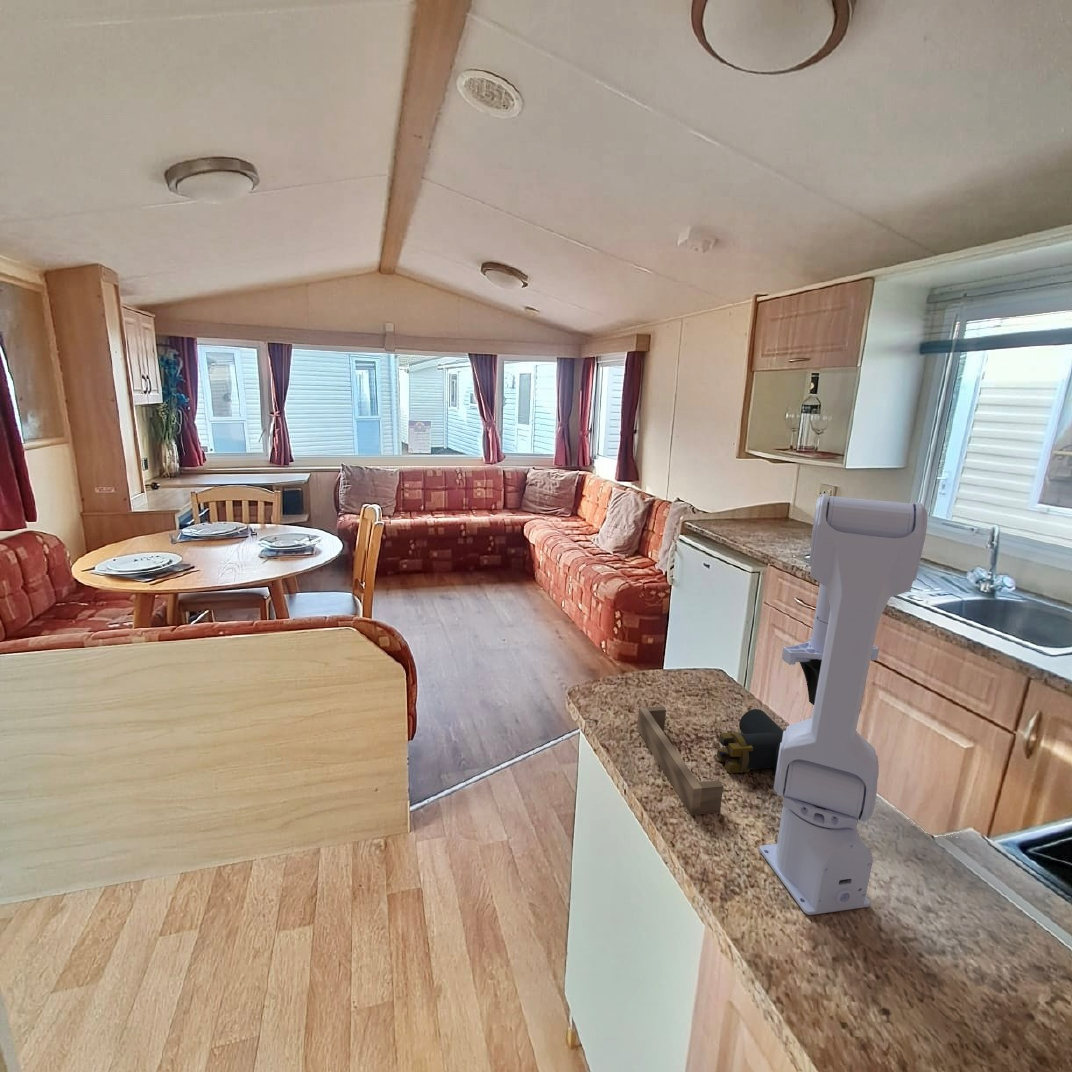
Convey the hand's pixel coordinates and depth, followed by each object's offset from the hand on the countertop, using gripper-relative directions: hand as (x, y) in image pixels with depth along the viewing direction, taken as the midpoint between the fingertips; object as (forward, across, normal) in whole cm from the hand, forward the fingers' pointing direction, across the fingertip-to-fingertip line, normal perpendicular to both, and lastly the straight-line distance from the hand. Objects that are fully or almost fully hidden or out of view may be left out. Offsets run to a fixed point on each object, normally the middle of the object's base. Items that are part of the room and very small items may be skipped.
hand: (822, 704), depth 87 cm
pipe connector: (+10, +9, 0) cm, 14 cm away
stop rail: (+9, +22, -1) cm, 24 cm away
